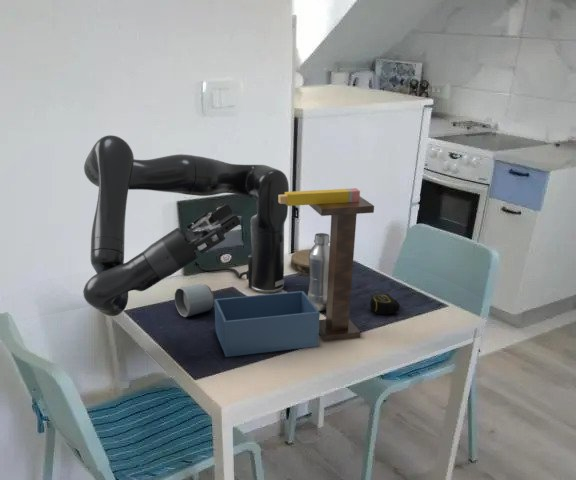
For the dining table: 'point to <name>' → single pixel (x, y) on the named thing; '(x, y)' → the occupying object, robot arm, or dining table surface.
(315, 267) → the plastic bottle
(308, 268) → the brown flat round disc
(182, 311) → the ceramic mug
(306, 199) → the pencil
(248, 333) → the blue open rectangular box
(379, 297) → the tape measure
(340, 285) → the shelf stand
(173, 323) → the dining table surface
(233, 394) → the dining table surface
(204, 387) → the dining table surface
